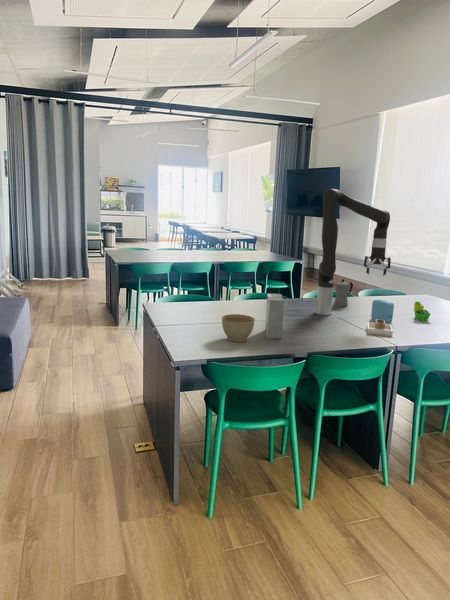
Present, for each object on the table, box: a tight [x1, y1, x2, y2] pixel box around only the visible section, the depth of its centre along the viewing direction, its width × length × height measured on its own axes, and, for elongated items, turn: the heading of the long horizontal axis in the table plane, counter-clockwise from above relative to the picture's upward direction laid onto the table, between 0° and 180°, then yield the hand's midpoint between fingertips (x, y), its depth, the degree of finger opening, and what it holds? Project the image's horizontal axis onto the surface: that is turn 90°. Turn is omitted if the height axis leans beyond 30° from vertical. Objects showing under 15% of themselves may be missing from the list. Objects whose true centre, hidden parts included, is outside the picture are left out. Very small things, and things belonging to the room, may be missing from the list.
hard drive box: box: [265, 293, 285, 340], centre depth 234 cm, size 16×8×20 cm, turn 178°
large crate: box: [366, 321, 394, 337], centre depth 247 cm, size 13×14×3 cm
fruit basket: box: [413, 300, 431, 323], centre depth 277 cm, size 11×9×11 cm
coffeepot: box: [333, 278, 354, 308], centre depth 308 cm, size 15×9×18 cm, turn 115°
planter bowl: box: [221, 313, 256, 343], centre depth 224 cm, size 16×16×11 cm
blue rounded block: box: [370, 299, 395, 324], centre depth 270 cm, size 12×4×12 cm, turn 32°
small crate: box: [374, 319, 386, 330], centre depth 247 cm, size 5×8×5 cm, turn 164°
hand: (375, 274), depth 261 cm, fingers open, 8 cm apart
